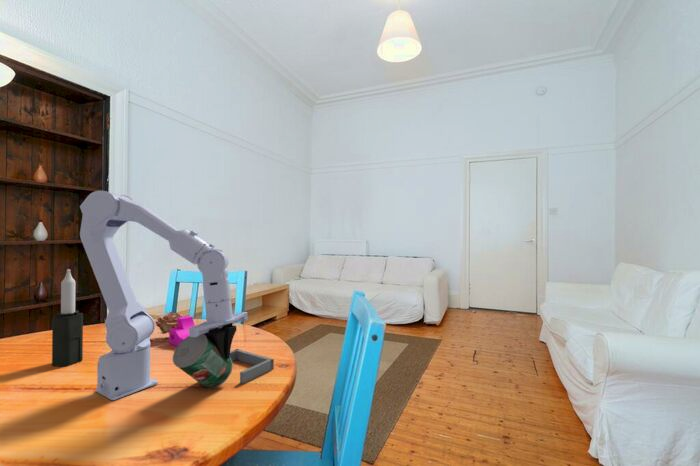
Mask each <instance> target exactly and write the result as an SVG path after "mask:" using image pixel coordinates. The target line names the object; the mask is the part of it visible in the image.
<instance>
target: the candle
mask: <svg viewBox="0 0 700 466" xmlns="http://www.w3.org/2000/svg"><path fill="white" fill-rule="evenodd" d="M60 284H61V285H60V311H59V312H57V313H56V315H53V316H52V334H51V336H52V337H51V338H52V339H51V341H52V343H51V345H52V346H51V347H52V348H51V366H53V367H59V368H65V367H70V366H72V365H74V364H77V363H80V362H82V361H83V355H84V354H83V349H84V346H83V345H84V344H83V343H84V341H83V339H84V337H83V335H84V331H83V329H84V313H83V312H80V310H76V280H75V279H74V278H73V276H72V272H71V269H69V268H67V269H66V273H65V276H64V278H63V280H62V281H61V283H60Z"/></svg>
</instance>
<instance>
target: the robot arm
mask: <svg viewBox="0 0 700 466" xmlns="http://www.w3.org/2000/svg"><path fill="white" fill-rule="evenodd" d="M79 208H80V211H81V214H82V218H81V224H80V229H79V230H80V231H79V236H80V240H81V243H82V245H83V248H84V251H85V253H86V255H87V259H88V261H89V264H90V266H91V268H92V272H93V275H94V276H95V279H96V281H97V283H98V287H99V290H100V292H101V294H102V297H103V300H104V302H105V305H106V308H107V310H108V312H107V316H106V318H105V321H104V324H105V327H106V336H105V339H106V340H105V341H106V344H107V346H108V347H109V348H110V349H111V350H110V351H109V352H108V353H105V354H103V355H101V356H99V358H98V361H97V372H96V373H97V375H96V376H97V379H96V382H97V383H96V384H97V385H96V386H97V388H95V392H97V394H100V395H102V396H104V397H105V398H107V399H109V400H111V401H116V400H118V399H121V398H124V397H126V396H129V395H131V394H134V393H137V392H139V391H143V390H145V389H147V388H150V387H153V386H155V385H159V381H158V380H156V379H154V378H152V377H151V341H150V337H151V335H152V334H153V333H154V332H155V329H156V321H155V319H154V318H153V317H152V316H151V315H150V314H149V313H148V312H147V310H146V308H145V307H144V305H143V304H141V303H140V302H138V301H137V299H136V296H135V294H134V292H133V289H132V286H131V283H130V281H129V278H128V276H127V273H126V270H125V267H124V265H123V262H122V259H121V258H120V255H119V252H118V250H117V246H116V245H115V241H114V235H116V233H117V232H118V231H119V229H120V228H121V227H122V226H123V225H125V224H127V223H128V222H134V223H138V224H139V225H140V226H143V227H144V228H146V229H148V230H149V231H150V232H152V233H154V234H156V235H157V236H159V237H161V238H163V239H164V240H166V241H167V242H168V243H169V244H168V245H169V248H170V250H171V251H173V252H174V253H175V254H177V255H179V256H180V257H182V258H183V259H184V260H187V261H188V262H189V263H191V264H193V265H196V266H197V269H198V270H199V272H200V273H201V275H202V290H203V297H204V299H203V300H204V307H205V308H204V309H205V315H206V316H205V317H206V321H204V322H201V323H199V324H197V325H195V326H194V327H191V328H189V336H190V337H197V336H199V335H201V334H204V335H205V336H206V337H207V338H208V339H209V340H211V341H212V342H213V343H214V344H215V345H216V346H217V348H218V349H219V351H220V354H221V356H222V358H223V359H224V355H225V357H226V359H229V356H230V351H231V347H232V343H233V340H234V336H235V334H236V332H237V325H235V324H236V323H240V322H244V321H245V322H246V321H247V320H249V316H248V312H247V311H241V312H238V313H234V314H233V307H232V306H233V305H232V298H231V297H232V296H231V290H230V289H231V287H230V280H229V276H228V275H229V273H228V269H227V267H228V265H229V258H228V256H227V254H226V253H225V252H224V251H223V250H222V249H217V248H216V249H215V246H216V245H215V244H214V243H211V242H210V243H209V242H207V241H205V240H204V239H202V238H201V237H199V236H198V232H196V231H195V230H188V229H180V230H179V229H177V228H176V227H175V226H173V225H172V224H170V223H169V222H168V221H166V220H165V219H163V218H162V217H161V216H160V215H158V214H157V213H156V212H154V211H153V210H151V209H150V208H148V207H147V206H145V205H144V204H142V203H141V202H139V201H137V200H134V199H133V198H132V197H130V196H128V195H125V194H117V193H113V192H109V191H107V190H106V191H105V190H95V191H92V192H91V193H89V195H87V196H86V198H85V199H84V200H83V202H82V203H81V204H80V205H79ZM210 328H211V329H210Z"/></svg>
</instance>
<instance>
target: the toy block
mask: <svg viewBox="0 0 700 466" xmlns="http://www.w3.org/2000/svg"><path fill="white" fill-rule="evenodd" d="M194 326H196V325H195V322H194V316H191V315H187V316H185V317H180V318H177V327H176V328H172V329H169V332H168V344H170V345H173V346H175V347H177V346H178V345H179V344H180V343H181V342H182V341H183V340H184V339H185V338H186V337H188V336H189V328H191V327H194ZM210 329H211V328H210Z"/></svg>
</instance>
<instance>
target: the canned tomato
mask: <svg viewBox="0 0 700 466" xmlns="http://www.w3.org/2000/svg"><path fill="white" fill-rule="evenodd" d="M172 363H173V364H174V366H175V367H177V368H179V369H180V370H181V371H183V372H184V373H185V374H186V375H188V376H189V377H191V378H192V379H193V380H195V381H196V382H197V383H199V384H200V385H202V386H203V387H206V388H211V389H212V388H214V389H216V388H218V387H220V386H222V385H223V384H224V383H225V382H226V381H227V380H228V379H229V377H230V376H231V374H232V371H233V366H234V364H233V361H232V360H231V359H230V358H229V359H226V357H225V355H224V359H223V358H222V356H221V354H220V351H219V349H218V348H217V346H216V345H215V344H214V343H213V342H212V341H211V340H209V339H208V338H207V337H206V336H205V335H204V334H201V335H199V336H197V337H190V336H188V337H186V338H185V339H184V340H183V341H182V342H181V343H180V344H179V345H178V346H176V348H175V350H174V352H173V354H172Z"/></svg>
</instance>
